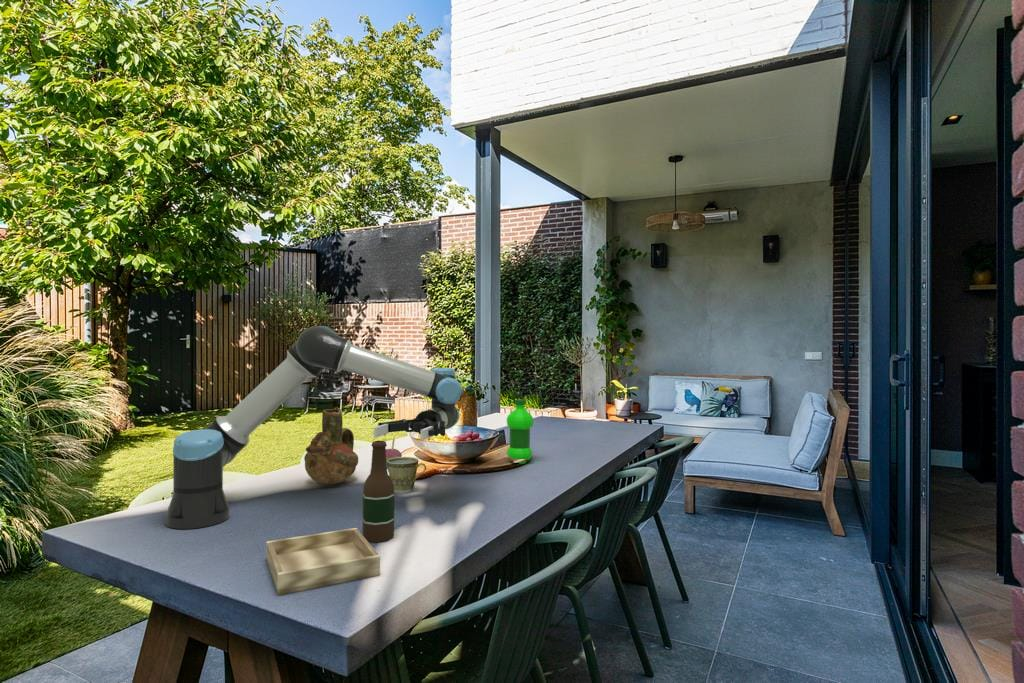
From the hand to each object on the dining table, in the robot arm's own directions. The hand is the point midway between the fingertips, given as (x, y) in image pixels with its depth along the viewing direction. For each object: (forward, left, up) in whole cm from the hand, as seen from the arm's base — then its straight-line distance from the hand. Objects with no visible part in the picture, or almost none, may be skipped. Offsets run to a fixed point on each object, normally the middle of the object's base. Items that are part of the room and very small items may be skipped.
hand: (398, 433), depth 152 cm
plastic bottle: (+66, +50, -24) cm, 86 cm away
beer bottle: (-7, -7, -24) cm, 26 cm away
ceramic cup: (+13, +30, -24) cm, 41 cm away
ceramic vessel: (-7, +50, -24) cm, 56 cm away
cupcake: (+18, +64, -24) cm, 71 cm away
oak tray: (-23, -19, -24) cm, 38 cm away
